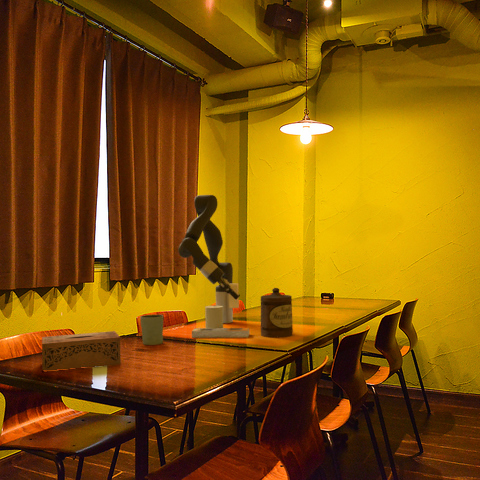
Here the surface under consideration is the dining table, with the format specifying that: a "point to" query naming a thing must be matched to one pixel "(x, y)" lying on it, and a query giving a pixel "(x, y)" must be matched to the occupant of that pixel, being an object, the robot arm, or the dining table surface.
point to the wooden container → (276, 315)
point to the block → (233, 302)
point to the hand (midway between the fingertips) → (238, 297)
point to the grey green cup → (152, 329)
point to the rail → (220, 333)
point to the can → (214, 316)
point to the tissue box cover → (81, 350)
